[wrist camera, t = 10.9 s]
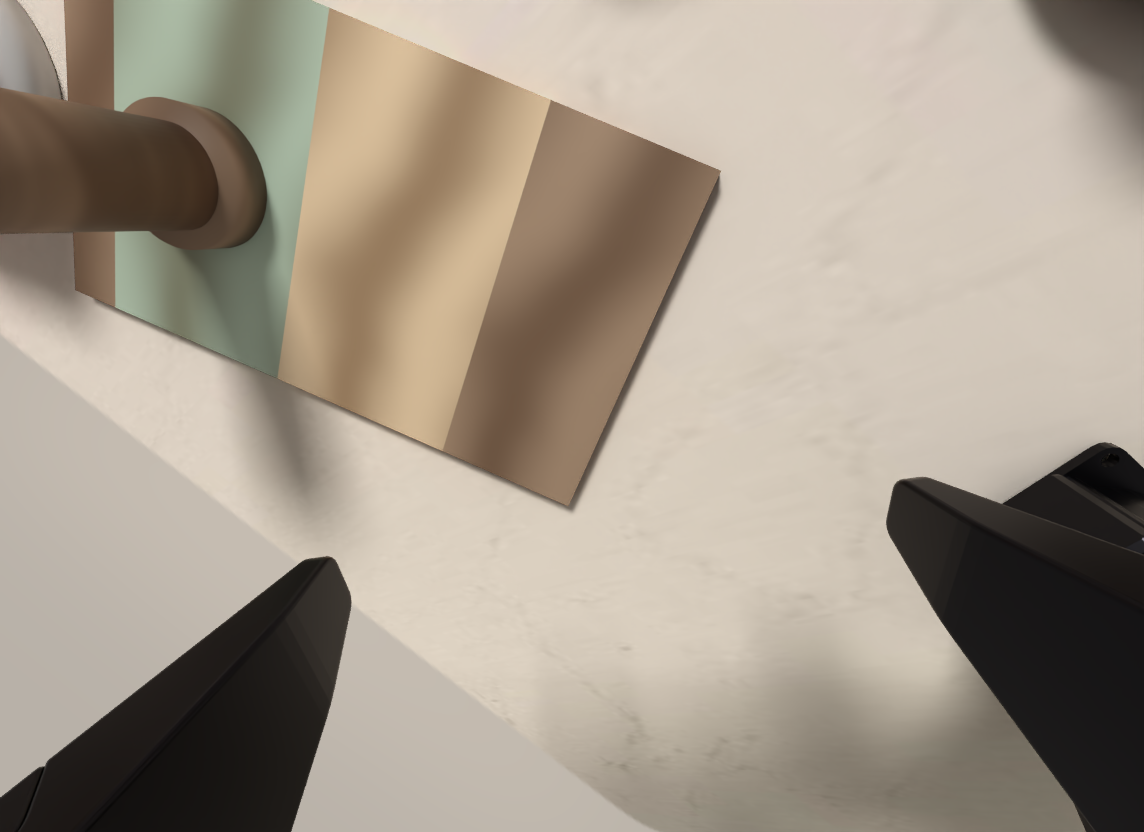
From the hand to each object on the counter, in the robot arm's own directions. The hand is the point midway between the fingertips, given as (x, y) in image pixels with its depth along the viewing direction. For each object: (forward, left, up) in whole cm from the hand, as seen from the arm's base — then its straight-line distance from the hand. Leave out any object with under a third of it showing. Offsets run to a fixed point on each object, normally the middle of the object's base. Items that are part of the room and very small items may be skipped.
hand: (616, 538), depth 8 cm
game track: (+12, +4, -12) cm, 17 cm away
